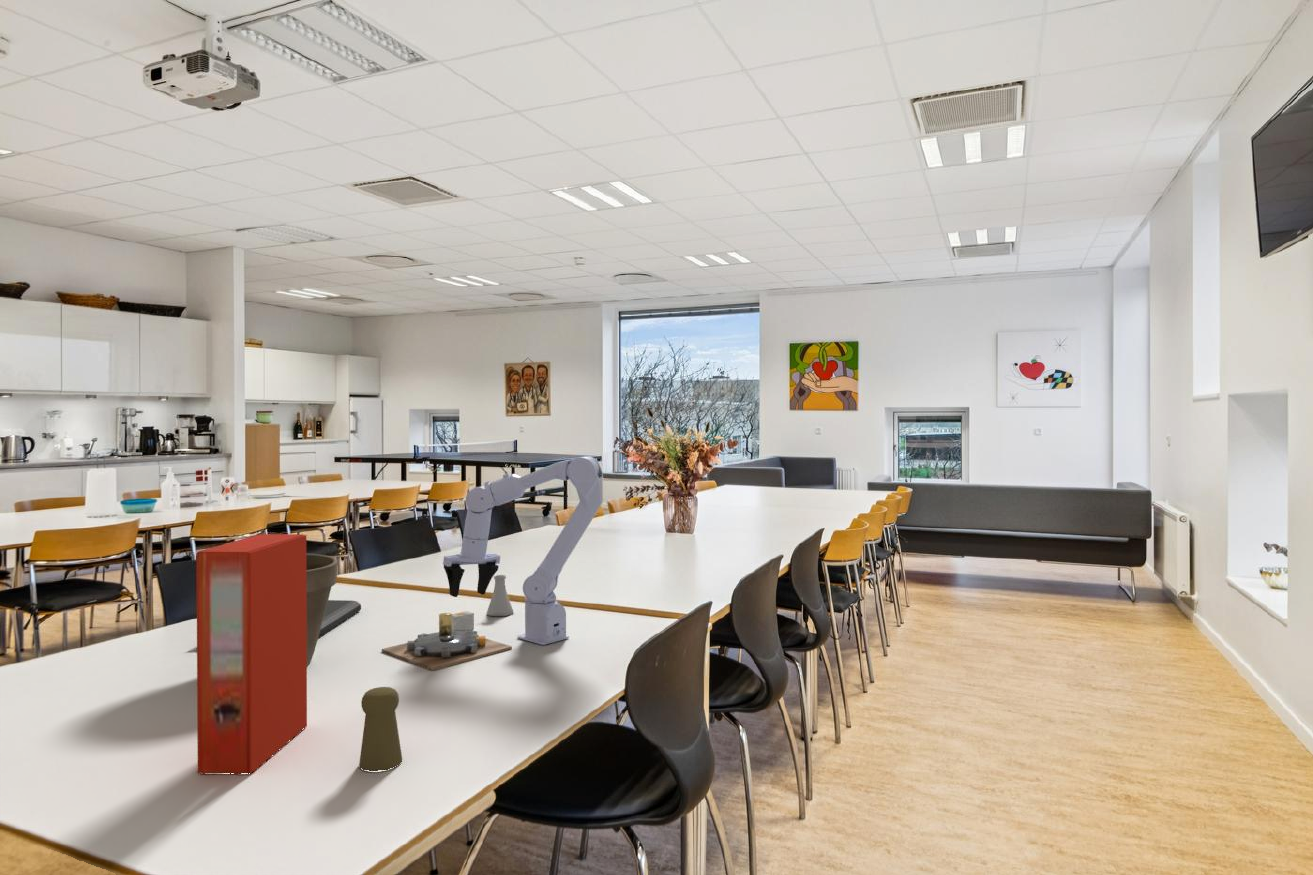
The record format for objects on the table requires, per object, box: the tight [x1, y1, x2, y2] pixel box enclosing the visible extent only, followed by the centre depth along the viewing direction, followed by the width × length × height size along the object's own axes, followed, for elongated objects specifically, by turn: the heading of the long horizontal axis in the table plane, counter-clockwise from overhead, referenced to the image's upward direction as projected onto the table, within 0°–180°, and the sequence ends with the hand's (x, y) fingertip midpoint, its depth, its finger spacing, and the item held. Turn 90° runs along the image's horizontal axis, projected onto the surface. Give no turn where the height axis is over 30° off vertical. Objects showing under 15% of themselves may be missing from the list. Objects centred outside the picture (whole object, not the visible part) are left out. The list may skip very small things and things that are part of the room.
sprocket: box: [406, 612, 487, 658], centre depth 172 cm, size 17×17×6 cm
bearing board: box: [381, 638, 513, 671], centre depth 172 cm, size 20×20×1 cm
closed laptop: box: [318, 599, 362, 639], centre depth 192 cm, size 33×4×24 cm
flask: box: [486, 574, 514, 617], centre depth 205 cm, size 7×7×10 cm
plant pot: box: [306, 553, 339, 667], centre depth 161 cm, size 25×25×22 cm
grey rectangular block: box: [451, 610, 475, 632], centre depth 189 cm, size 3×5×4 cm, turn 138°
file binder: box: [195, 533, 308, 775], centre depth 120 cm, size 8×17×32 cm, turn 179°
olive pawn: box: [358, 686, 403, 771], centre depth 115 cm, size 6×6×11 cm
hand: (467, 594), depth 183 cm, fingers open, 7 cm apart
